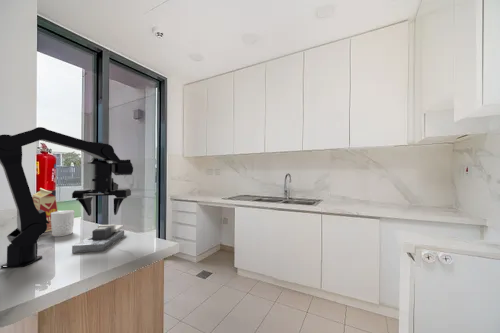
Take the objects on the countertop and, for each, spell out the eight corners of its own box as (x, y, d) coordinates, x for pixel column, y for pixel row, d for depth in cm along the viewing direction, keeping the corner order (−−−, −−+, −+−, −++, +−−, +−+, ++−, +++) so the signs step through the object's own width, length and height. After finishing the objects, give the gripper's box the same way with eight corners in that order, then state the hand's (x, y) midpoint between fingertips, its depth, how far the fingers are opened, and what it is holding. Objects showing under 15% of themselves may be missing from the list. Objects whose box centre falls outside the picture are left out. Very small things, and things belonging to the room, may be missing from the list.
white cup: (78, 231, 96) (79, 210, 96) (61, 237, 88) (62, 214, 88) (63, 231, 96) (63, 209, 97) (45, 236, 89) (45, 213, 89)
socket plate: (103, 251, 73) (103, 244, 74) (72, 252, 72) (72, 245, 72) (124, 235, 90) (124, 230, 90) (98, 237, 88) (98, 231, 88)
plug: (105, 243, 80) (105, 229, 80) (92, 244, 79) (92, 229, 79) (110, 239, 84) (111, 226, 84) (98, 240, 83) (98, 226, 83)
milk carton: (24, 232, 95) (25, 188, 95) (48, 227, 104) (49, 187, 104) (37, 234, 92) (38, 189, 92) (61, 228, 101) (62, 187, 101)
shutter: (114, 233, 85) (115, 225, 85) (96, 233, 84) (96, 226, 84) (123, 227, 93) (123, 220, 93) (106, 228, 92) (106, 221, 92)
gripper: (136, 175, 92) (135, 210, 91) (88, 175, 88) (88, 211, 88) (125, 176, 81) (125, 216, 80) (71, 176, 77) (70, 217, 77)
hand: (102, 215), depth 82 cm, fingers open, 9 cm apart
